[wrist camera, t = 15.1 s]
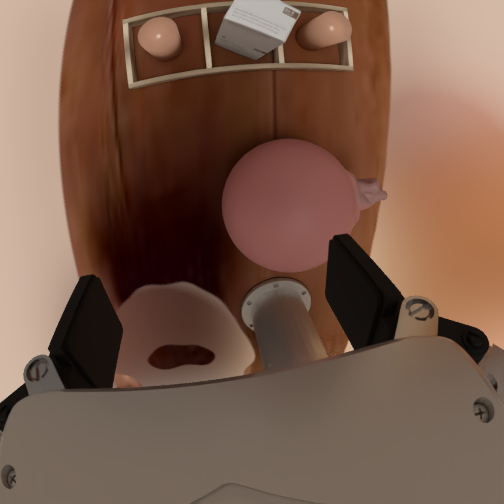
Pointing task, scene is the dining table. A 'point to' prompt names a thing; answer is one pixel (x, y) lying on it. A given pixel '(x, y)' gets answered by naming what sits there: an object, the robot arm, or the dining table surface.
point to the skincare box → (256, 26)
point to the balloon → (292, 203)
